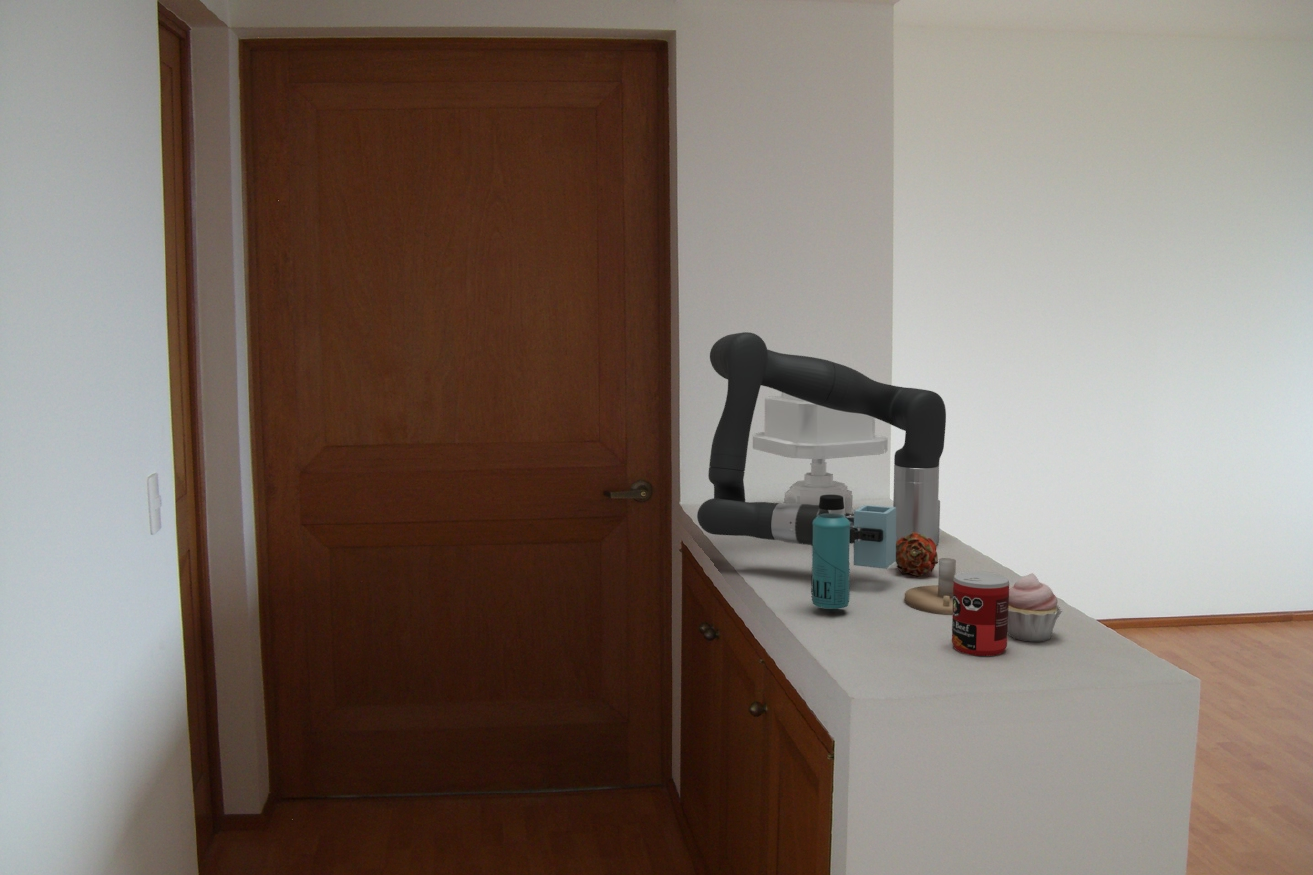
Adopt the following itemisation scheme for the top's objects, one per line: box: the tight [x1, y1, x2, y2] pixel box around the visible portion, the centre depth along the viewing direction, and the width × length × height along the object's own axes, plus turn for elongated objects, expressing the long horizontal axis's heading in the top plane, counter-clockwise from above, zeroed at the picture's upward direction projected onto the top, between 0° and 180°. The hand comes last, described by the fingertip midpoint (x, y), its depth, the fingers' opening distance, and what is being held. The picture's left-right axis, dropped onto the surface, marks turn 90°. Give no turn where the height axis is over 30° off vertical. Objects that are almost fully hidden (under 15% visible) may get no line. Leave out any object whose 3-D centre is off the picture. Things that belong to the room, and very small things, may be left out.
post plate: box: [904, 557, 957, 616], centre depth 184 cm, size 14×14×8 cm
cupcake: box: [1007, 572, 1063, 643], centre depth 166 cm, size 9×9×10 cm
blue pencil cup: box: [853, 504, 896, 570], centre depth 194 cm, size 6×6×10 cm
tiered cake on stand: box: [752, 392, 889, 515], centre depth 249 cm, size 27×27×35 cm
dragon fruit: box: [895, 532, 939, 577], centre depth 205 cm, size 8×8×12 cm
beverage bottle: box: [810, 495, 851, 610], centre depth 179 cm, size 6×7×20 cm
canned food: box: [951, 570, 1010, 657], centre depth 160 cm, size 8×8×11 cm
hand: (888, 531), depth 193 cm, fingers closed on blue pencil cup, 6 cm apart
